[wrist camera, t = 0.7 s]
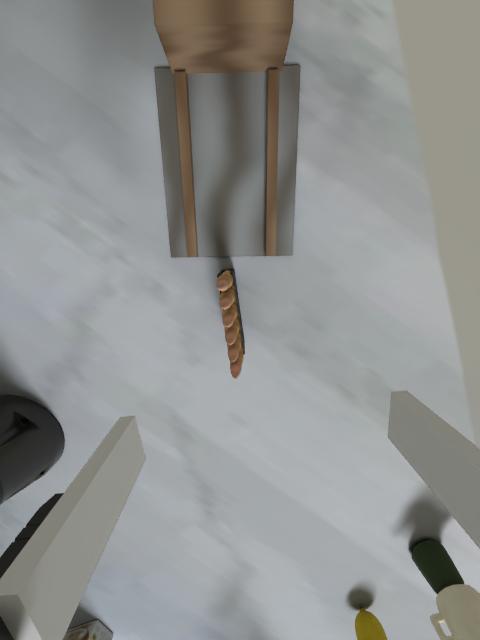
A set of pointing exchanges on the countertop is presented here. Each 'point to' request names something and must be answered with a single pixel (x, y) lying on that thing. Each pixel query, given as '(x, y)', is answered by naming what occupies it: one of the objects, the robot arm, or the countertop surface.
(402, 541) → the countertop surface
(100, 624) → the coffee box
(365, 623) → the lemon
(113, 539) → the countertop surface
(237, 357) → the ammunition clip
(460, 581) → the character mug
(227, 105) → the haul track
